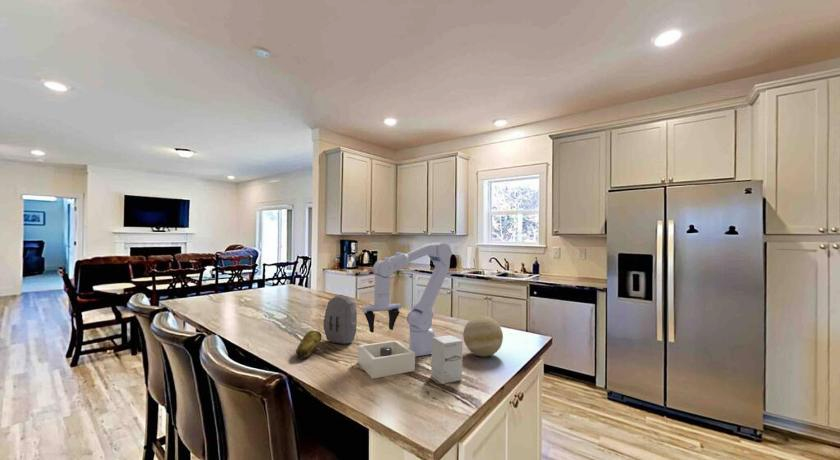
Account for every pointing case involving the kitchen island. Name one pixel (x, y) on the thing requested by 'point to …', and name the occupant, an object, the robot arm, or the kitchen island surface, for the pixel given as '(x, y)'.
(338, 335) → the small grey backpack
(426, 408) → the kitchen island surface
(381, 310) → the robot arm
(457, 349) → the supplement box
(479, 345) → the decorative ball
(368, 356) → the white square storage bin
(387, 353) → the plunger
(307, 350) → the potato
